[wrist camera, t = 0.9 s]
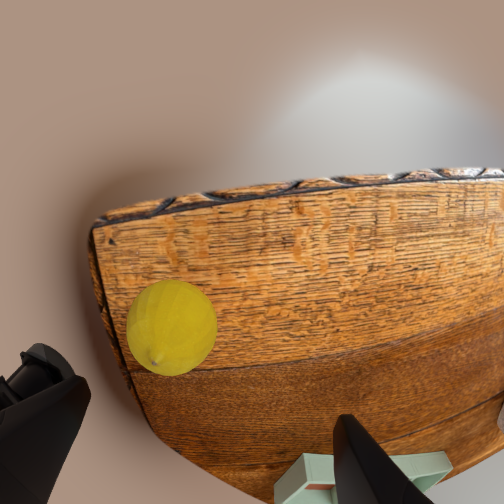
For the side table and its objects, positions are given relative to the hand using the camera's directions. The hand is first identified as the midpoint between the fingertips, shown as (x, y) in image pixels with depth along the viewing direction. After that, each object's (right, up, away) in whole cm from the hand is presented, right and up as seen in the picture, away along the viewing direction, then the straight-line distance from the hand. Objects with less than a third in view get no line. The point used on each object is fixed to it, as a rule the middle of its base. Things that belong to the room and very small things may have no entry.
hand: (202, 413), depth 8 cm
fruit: (-3, +2, +13) cm, 13 cm away
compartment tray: (+17, -25, +19) cm, 36 cm away
